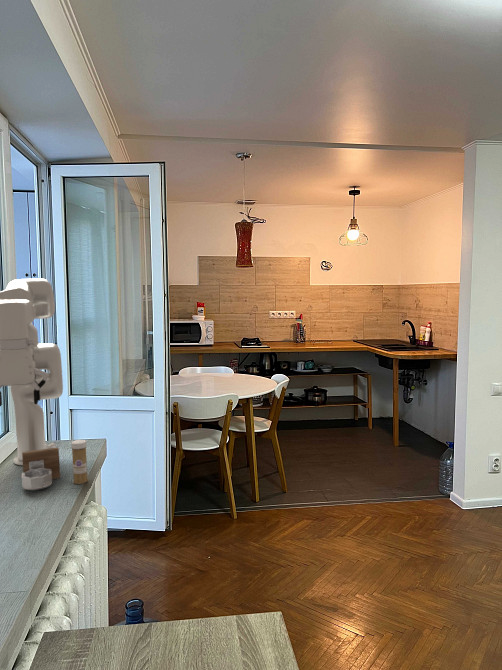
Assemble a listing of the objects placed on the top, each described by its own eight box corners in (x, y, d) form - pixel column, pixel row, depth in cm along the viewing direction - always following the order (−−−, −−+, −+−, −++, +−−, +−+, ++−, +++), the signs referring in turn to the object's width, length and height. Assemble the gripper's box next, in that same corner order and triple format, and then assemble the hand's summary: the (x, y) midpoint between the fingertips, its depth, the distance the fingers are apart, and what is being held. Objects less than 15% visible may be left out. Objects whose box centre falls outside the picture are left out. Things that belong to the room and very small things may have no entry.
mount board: (60, 477, 174) (58, 448, 173) (24, 483, 170) (22, 453, 169) (59, 472, 179) (57, 443, 178) (24, 477, 175) (22, 448, 174)
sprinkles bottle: (74, 485, 167) (72, 444, 166) (72, 480, 171) (70, 440, 170) (89, 482, 169) (87, 442, 168) (87, 478, 173) (85, 438, 172)
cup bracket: (52, 487, 163) (51, 469, 162) (22, 492, 160) (21, 473, 159) (51, 476, 173) (50, 458, 172) (22, 480, 170) (21, 462, 169)
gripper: (48, 342, 154) (51, 399, 156) (-17, 345, 150) (-13, 404, 151) (45, 345, 147) (49, 405, 149) (-23, 348, 142) (-18, 410, 144)
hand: (18, 404), depth 150 cm, fingers open, 9 cm apart
